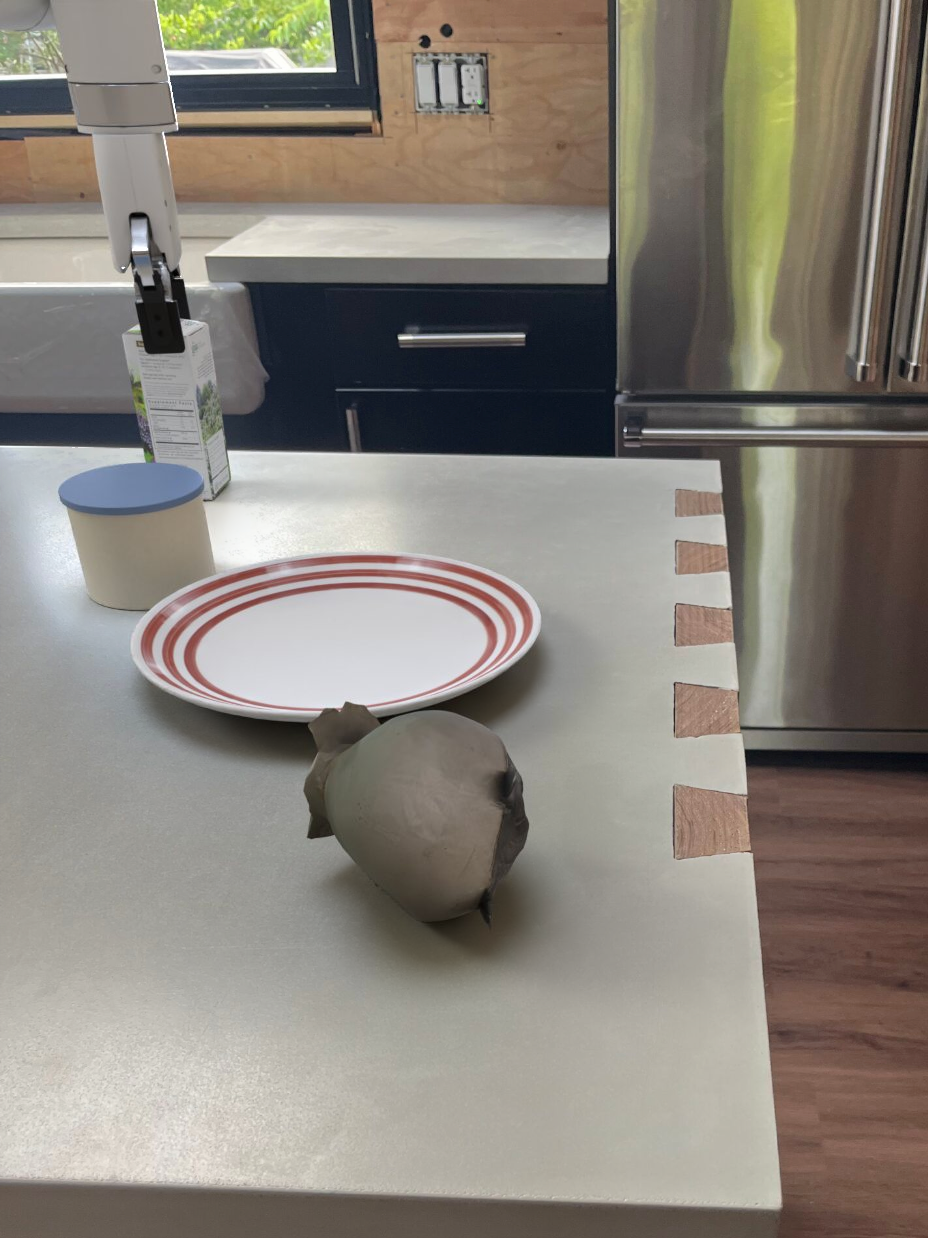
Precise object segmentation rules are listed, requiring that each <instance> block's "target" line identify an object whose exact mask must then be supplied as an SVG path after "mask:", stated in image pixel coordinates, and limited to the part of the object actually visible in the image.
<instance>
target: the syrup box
mask: <svg viewBox="0 0 928 1238" xmlns="http://www.w3.org/2000/svg"><path fill="white" fill-rule="evenodd" d="M180 321H181V327H182V332H183V337H184V342H185V351H184V352H183V353H173V354H147V353H146V352H145V349H144V344H143V339H142V335H141V330H140V325H139V323H137V324H136V325H134V326H133V327H131V328H129V329H128V330H126V331H124V332H122V334H121V336H122V344H123V348H124V354H125V359H126V365H127V370H128V375H129V381H130V386H131V391H132V397H133V402H134V407H135V408H134V409H135V413H136V418H137V424H138V429H139V434H140V439H141V445H142V450H143V456H144V462H145V463H168V464H175V465H181V466H185V467H188V468H191V469H194V470H196V471H197V472H199V473H200V474H201V475H202V477H203V480H204V486H205V487H204V490H203V492H202V497H203V501H204V500H205V501H213V500H214V499H215V498H216V497H217V496H218V495H219V494H220V493H221V492H222V490H223V489H224V488H225V487H226V486H228V484H229V483H230V482H231V481H232V474H231V468H230V461H229V460H230V459H229V454H228V453H229V452H228V447H227V442H226V440H227V439H226V435H225V434H226V433H225V427H224V419H223V414H222V413H223V412H222V405H221V400H220V393H219V387H218V379H217V374H216V366H215V360H214V354H213V347H212V341H211V340H212V339H211V334H210V327H209V324H208V323H207V322H206V321H199V320H193V319H191V320H187V319H180Z"/></svg>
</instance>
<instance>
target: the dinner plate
mask: <svg viewBox="0 0 928 1238" xmlns="http://www.w3.org/2000/svg"><path fill="white" fill-rule="evenodd" d="M541 627H542V614H541V611H540V607H539V605H538V603H537V602H536V600H535V599H534V598H533V596H532V595H531V594H530V593H529V592H528V591H527V590H526V589H525V588H523V587H522V586H521V585H519V584H518V583H517V582H515V581H513V580H511V579H509V578H508V577H506V576H505V575H503V574H500V573H498V572H495V571H493V570H491V569H488V568H485V567H482V566H479V565H477V564H473V563H471V562H466V561H462V560H459V559H453V558H449V557H445V556H438V555H433V554H423V553H416V552H415V553H414V552H405V551H387V550H386V551H384V550H383V551H381V550H350V551H349V550H348V551H347V550H346V551H332V552H319V553H309V554H301V555H300V554H299V555H295V556H288V557H282V558H276V559H275V558H274V559H271V560H265V561H261V562H257V563H252V564H248V565H244V566H240V567H236V568H232V569H229V570H225V571H223V572H219V573H216V575H213V576H210V577H208V578H205V579H202V580H200V581H197V582H195V583H193V584H190V585H188V586H186V587H184V588H182V589H180V590H178V591H176V592H175V593H173V594H171V595H170V596H168V597H166V598H165V599H163V600H162V601H160V602H159V603H158V604H156V605H155V606H154V607H153V608H151V609H148V611H147V612H145V614H144V615H143V616H142V617H141V619H140V620H139V621H138V623H137V624H136V626H135V628H134V629H133V631H132V634H131V637H130V642H129V651H130V656H131V659H132V662H133V664H134V666H135V667H136V669H137V670H138V671H139V672H140V673H141V675H142V676H143V677H144V678H145V679H146V680H148V681H149V682H150V683H151V684H152V685H154V686H156V687H157V688H158V689H159V690H162V691H163V692H166V693H168V694H169V695H171V696H173V697H175V698H178V699H180V700H182V701H185V702H188V703H190V704H193V705H195V706H198V707H202V708H205V709H209V710H212V711H216V712H219V713H224V714H229V715H233V716H240V717H247V718H251V719H256V720H257V719H258V720H267V721H276V722H290V723H291V722H293V723H310V722H312V721H313V720H314V719H316V718H317V717H319V715H320V714H321V712H322V711H323V710H324V708H335V709H337V710H338V711H341V709H342V707H343V705H344V703H345V701H347V702H350V703H353V704H360V705H365V706H366V707H367V709H368V711H369V712H370V713H371V714H372V715H373V716H376V718H377V719H378V718H384V717H388V716H393V715H399V714H403V713H408V712H411V711H416V710H420V709H424V708H427V707H430V706H433V705H437V704H439V703H443V702H446V701H448V700H451V699H454V698H456V697H459V696H461V695H464V694H466V693H469V692H470V691H472V690H474V689H477V688H479V687H481V686H483V685H484V684H486V683H488V682H490V681H492V680H494V679H496V678H497V677H499V676H500V675H501V674H503V673H505V672H506V671H507V670H509V669H510V668H512V667H513V666H514V665H515V664H516V663H517V662H519V661H520V660H521V659H522V658H523V657H525V655H526V654H527V653H528V652H529V651H530V650H531V649H532V647H533V646H534V645H535V643H536V641H537V640H538V638H539V635H540V632H541Z"/></svg>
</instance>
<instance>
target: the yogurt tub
mask: <svg viewBox="0 0 928 1238" xmlns="http://www.w3.org/2000/svg"><path fill="white" fill-rule="evenodd" d="M204 487H205V486H204V480H203V477H202V475H201V474H200V473H199V472H197V471H196V470H194V469H191V468H188V467H185V466H181V465H175V464H168V463H146V462H130V463H118V464H113V465H107V466H102V467H97V468H93V469H89V470H86V471H83V472H80V473H77V474H76V475H73V476H71V477H69V478H67V479H66V480H64V481H63V482H62V483H61V484H60V485H59V487H58V491H57V494H58V497H59V501H60V502H61V504H62V505H63V506H65V508H66V512H67V515H68V519H69V524H70V527H71V532H72V535H73V539H74V543H75V547H76V551H77V555H78V559H79V563H80V567H81V572H82V576H83V579H84V583H85V588H86V592H87V595H88V597H89V598H90V600H92V601H93V602H95V603H97V604H98V605H101V606H104V607H107V608H110V609H111V608H112V609H117V610H126V611H128V610H129V611H145V610H146V611H147V610H148V611H149V610H150V609H151V608H153V607H154V606H155V605H156V604H158V603H159V602H160V601H162V600H163V599H165V598H166V597H168V596H170V595H171V594H173V593H175V592H176V591H178V590H180V589H182V588H184V587H186V586H188V585H190V584H193V583H195V582H197V581H200V580H202V579H205V578H208V577H210V576H213V575H216V574H217V568H216V564H215V559H214V553H213V548H212V541H211V535H210V531H209V526H208V520H207V515H206V509H205V502H204V500H203V497H202V492H203V490H204Z"/></svg>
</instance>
